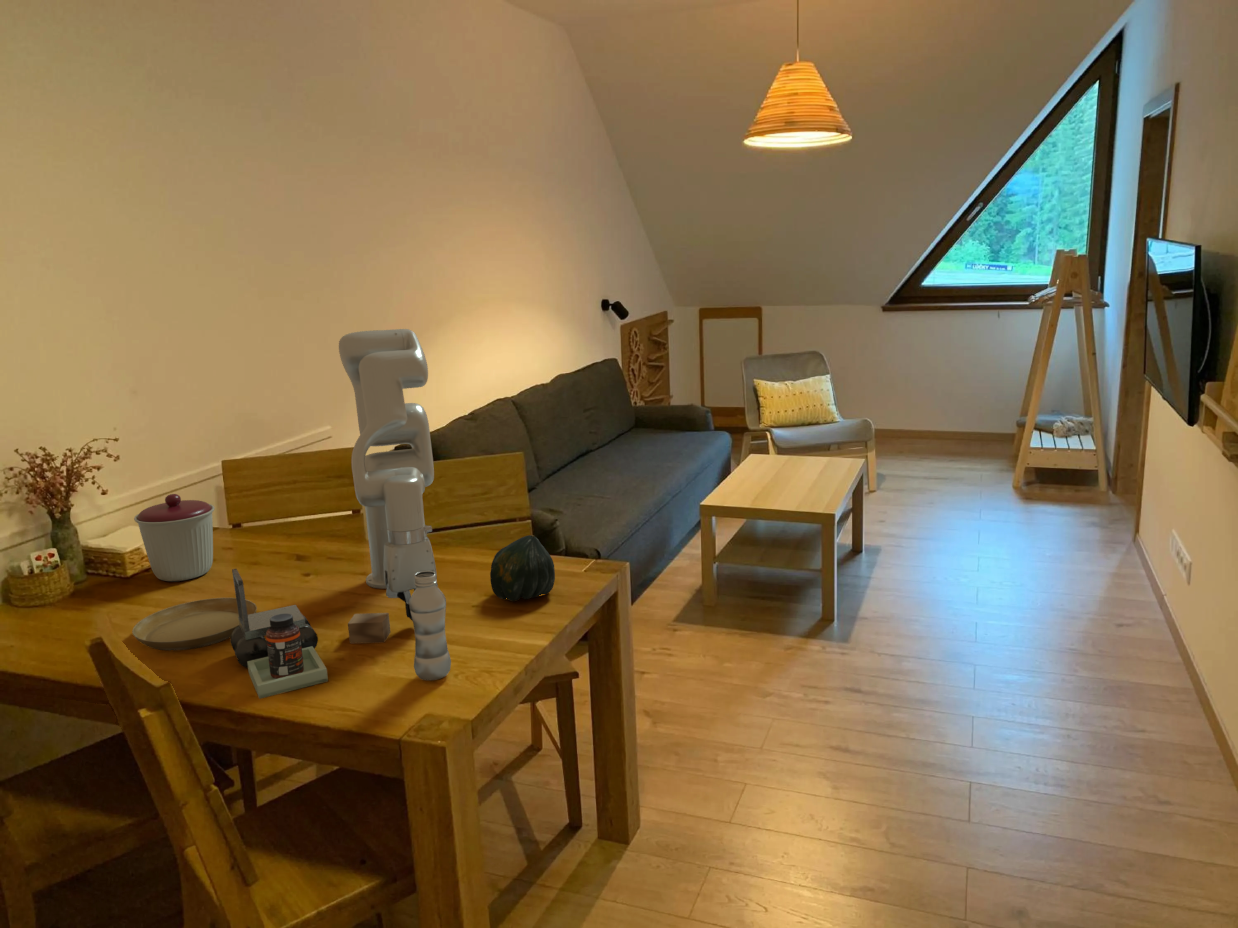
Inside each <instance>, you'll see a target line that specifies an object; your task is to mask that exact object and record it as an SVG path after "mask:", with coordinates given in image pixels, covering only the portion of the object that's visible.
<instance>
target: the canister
mask: <svg viewBox="0 0 1238 928" xmlns="http://www.w3.org/2000/svg"><path fill="white" fill-rule="evenodd" d="M214 511H215V506H214V505H213V504H211V503H208V502H206V501H202V500H195V499H187V500H182V498H181V496H180V495H179V494H177V493H170V494H167V495H166V497H165V498H164V502H162V503H159V504H154V505H152V506H149V507H146V508H144V509H143V510H141V511H140V512H139V513H138V514H136V515H135V516H134V518H133V519H134V522H135V523H137V525H138V528H139V531H140V532H139V533H140V536H141V538H142V539H141V540H142V542H143V546H144V549H145V552H146V556H147V558H148V562H149V564H150V568H151V571H152V573H153V574H154V575H155V577H156V578H157V579H159V580H161V581H165V582H180V581H181V582H182V581H188V580H191V579H195V578H198V577H201V576H203V575H205V574H207V573H208V572H209V571H210V570H211V568H212V566H213V563H214V531H213V529H214V527H213V526H214V525H213V522H214V521H213V512H214Z"/></svg>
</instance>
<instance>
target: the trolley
mask: <svg viewBox="0 0 1238 928" xmlns="http://www.w3.org/2000/svg"><path fill="white" fill-rule="evenodd" d="M231 574H232V578H233V579H232V580H233V585H234V592H235V598H236V602H237V609H238V616H239V617H238V621H239V626H238V627H236V628H235V629H234V630H233V632H232V633H231V637H230V638H229V643H230V646H231V648H232V650H233V651H234V654H235V658H236V660H237V662H238V663H239V664H240V665H241V666H242V667H244V668H246V669H248V664H247V661H251V660H256V659H260V658H264V657H268V650H267V642H266V632H267V630H268V629H269V628H270V627H271V626H270V618H271V617H272V616H274V615H278V614H291V615H292V616H293V623H294V624H295V625H297V626H298V627H299V630H300V637H301V646H302V648H307V647H311V646H313V648H314V649H316V648H317V645H318V642H319V641H318V640H319V637H318V634H317V633H316V631H315V629H314V628H313V627H312V626H311V623H310V621H309V620H308V618H306V616H305V615H304V614H303V613H302V612H301V611H300V609H299V608H298V607H297V605H296V604H294V605H293V604H292V605H288V606H284V607H283V606H282V607H279V608H275V609H270V610H269V609H268V610H264V611H259V612H256V613H254V614H249V615H247V608H246V600H247V599H246V594H245V587H244V581H243V580H244V579H242V576H241V575H240V573H239V571H238V569H237V568H233V569H232V570H231Z"/></svg>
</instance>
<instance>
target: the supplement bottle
mask: <svg viewBox="0 0 1238 928" xmlns="http://www.w3.org/2000/svg"><path fill="white" fill-rule="evenodd" d="M270 626H271V627H270V628H269V629H268V630H267V632H266V636H265V639H266V642H267V650H268V658H269V667H270V674H271V676H272V677H273V678H275V679H278V678H282V677H286V676H290V675H294V674H298V673H302V672H303V670H304V664H303V655H302V646H301V637H300V630H299V627H298V626H297V625H295V624H294V623H293V616H292V615H291V614H278V615H274V616H272V617H271V618H270Z"/></svg>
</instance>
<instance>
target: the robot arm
mask: <svg viewBox="0 0 1238 928" xmlns="http://www.w3.org/2000/svg"><path fill="white" fill-rule="evenodd" d="M338 353H339V357H340V360H341V361H340V362H341V364H342V366H343V369H344V371H345V372H346V375H347V376H348V379H349V381H350V382H351V385H352V387H353V392H354V397H355V398H354V399H355V405H356V414H357V423H358V431H359V436H358V438H357V440H356V442H355V443H354V447H353V449H352V452H351V472H352V477H353V478H352V479H353V485H354V491H355V497H356V499H357V501H358V503H359V504H360V506H363V507H364V509H365V510H364V511H365V519H366V527H367V538H368V545H369V546H368V547H369V555H370V556H369V557H370V558H369V559H370V566H371V573H369V574H368V575H367V576H366V578H365V581H366V582H365V583H366V585H367V586H369V587H371V588H372V589H373V588H374V589H379V590H380V589H383V590H384V589H385V590H386V592H385V595H386V597H388V598H389V599H400V600H401V601H403V602H404V605H405V615H406V617H407V618H409V620H411V622H413V620H412V616H411V612H410V607H409V602H410V598H411V596H412V594H411V591H412V590H413V592H414V591H415V590H416V588H417V587H416V586H415V578H414V575H415V574H416V573H419V572H423V571H432V572H435V575H436V580H437V577H438V576H437V567H436V562H435V556H434V552H433V548H432V544H431V541H430V538H429V537H428V536H427V535H428V533H431V532H433V527H432V525H426V524H425V515H424V513H425V511H424V501H423V493H425V489H426V487H429V486H431V484H433V481H434V479H435V469H434V467H435V466H434V457H433V448H432V441H431V432H430V424H429V420H428V415H427V412H426V410H425V408H424V407H423V406H422V405H421V404H419V403H416V402H405V397H404V389H405V390H407V389H415V388H423V387H425V385H426V384H427V383H428V381H429V380H428V379H429V367H428V363H427V359H426V355H425V352H424V349H423V348H422V345H421V343H420V341H419V337H418V336H417V334H416V333H415V332H414V331H413V330H411V329H409V328H398V329H397V328H396V329H378V330H364V331H363V330H362V331H353V332H350V333H348V334H344V335H342V336H341V338H340V339H339V341H338ZM405 444H406V445H410V446H411V448H409V449H408V448H406V449H399V450H388V451H387V450H386V451H378V452H374V453H373V452H372V453H369V454H367V452H368V451H369V449H370V447H387V446H396V445H405ZM437 581H438V580H437ZM435 585H436V586H437V587H439V585H438V583H437V584H435Z"/></svg>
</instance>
